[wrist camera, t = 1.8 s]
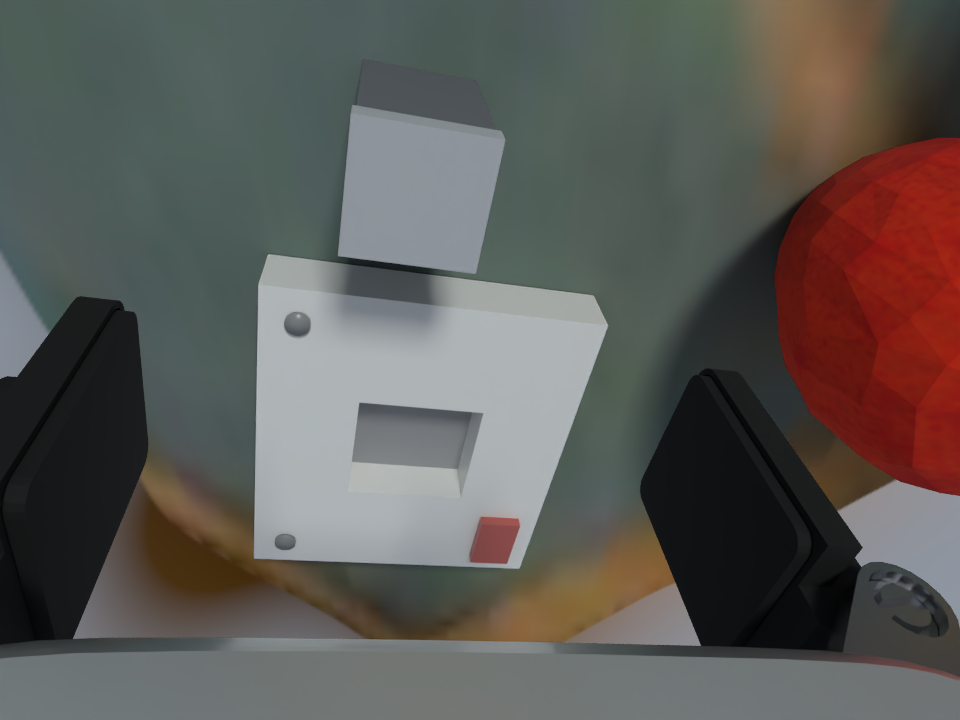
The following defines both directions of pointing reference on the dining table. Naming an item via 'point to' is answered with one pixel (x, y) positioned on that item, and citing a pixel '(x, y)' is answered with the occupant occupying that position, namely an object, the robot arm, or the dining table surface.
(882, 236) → the apple
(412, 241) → the plug
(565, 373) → the socket plate
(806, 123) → the dining table surface
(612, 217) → the dining table surface
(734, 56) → the dining table surface
